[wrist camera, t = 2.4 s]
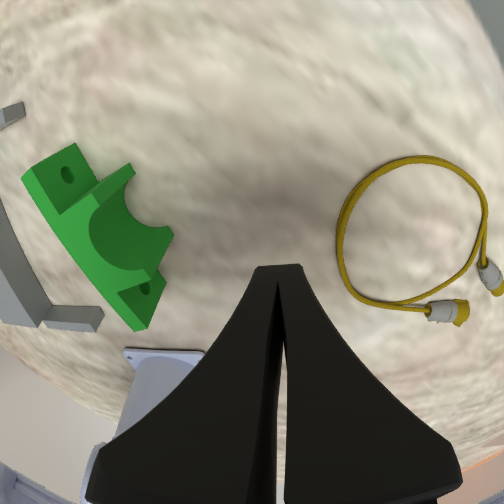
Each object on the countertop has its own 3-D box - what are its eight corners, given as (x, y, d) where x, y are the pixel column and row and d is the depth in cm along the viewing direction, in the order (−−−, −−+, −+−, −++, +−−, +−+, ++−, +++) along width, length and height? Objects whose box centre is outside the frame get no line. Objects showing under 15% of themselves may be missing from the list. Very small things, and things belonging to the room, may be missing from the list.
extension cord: (383, 348, 24) (388, 366, 22) (295, 206, 17) (298, 223, 15) (498, 285, 19) (509, 300, 18) (466, 112, 13) (485, 119, 11)
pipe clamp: (199, 269, 20) (183, 320, 16) (155, 284, 21) (134, 332, 17) (105, 118, 14) (58, 140, 10) (65, 150, 15) (18, 179, 11)
